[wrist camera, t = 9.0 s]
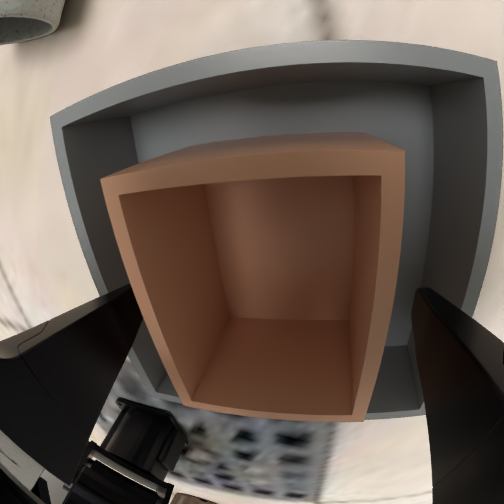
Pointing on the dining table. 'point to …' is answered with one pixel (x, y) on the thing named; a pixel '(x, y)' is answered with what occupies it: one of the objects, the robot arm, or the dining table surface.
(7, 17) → the ceramic mug
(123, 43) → the dining table surface
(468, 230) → the big crate
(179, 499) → the plant pot
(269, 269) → the small crate
